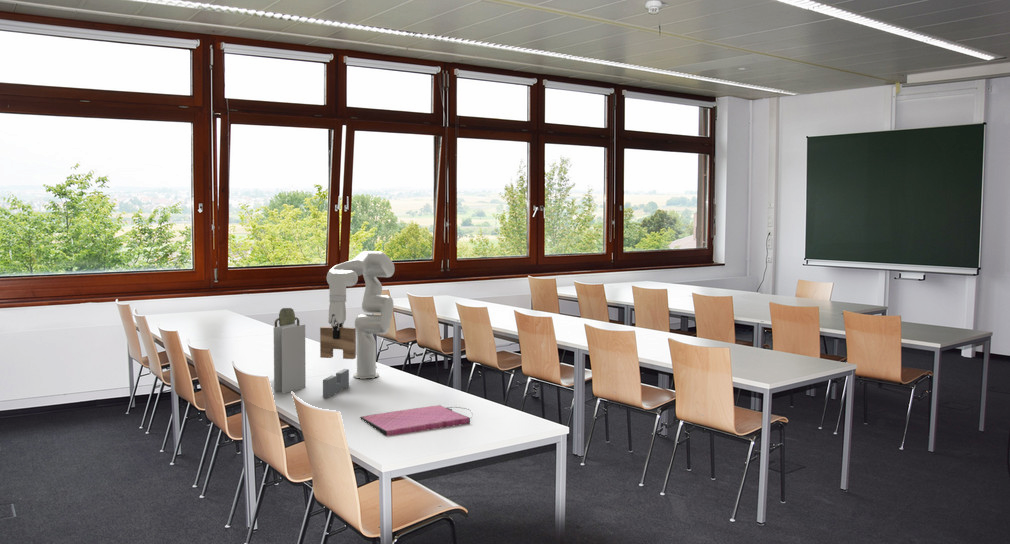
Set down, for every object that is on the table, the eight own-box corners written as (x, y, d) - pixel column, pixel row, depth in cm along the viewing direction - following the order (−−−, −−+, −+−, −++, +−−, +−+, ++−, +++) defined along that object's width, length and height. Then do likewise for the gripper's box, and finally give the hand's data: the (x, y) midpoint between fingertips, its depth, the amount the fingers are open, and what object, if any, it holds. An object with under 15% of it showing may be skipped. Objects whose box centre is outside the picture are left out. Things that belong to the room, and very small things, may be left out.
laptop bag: (385, 427, 280) (360, 411, 303) (386, 437, 281) (360, 421, 304) (479, 412, 301) (448, 399, 324) (479, 422, 301) (448, 408, 324)
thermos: (272, 378, 373) (271, 308, 370) (295, 375, 380) (295, 306, 377) (278, 381, 366) (277, 310, 363) (302, 378, 373) (301, 308, 370)
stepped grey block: (343, 385, 360) (343, 369, 359) (348, 385, 359) (348, 369, 359) (322, 397, 336) (322, 379, 336) (328, 397, 336) (328, 380, 335)
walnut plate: (323, 356, 349) (322, 326, 348) (355, 357, 347) (355, 327, 346) (320, 357, 346) (320, 327, 345) (353, 359, 344) (353, 328, 343)
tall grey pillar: (297, 386, 357) (296, 323, 355) (305, 387, 355) (305, 324, 352) (274, 391, 345) (273, 327, 343) (282, 393, 342) (282, 328, 340)
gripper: (336, 296, 353) (337, 335, 354) (322, 300, 337) (323, 341, 338) (352, 297, 352) (352, 335, 353) (338, 301, 336) (338, 341, 337)
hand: (337, 337), depth 346 cm, fingers closed on walnut plate, 3 cm apart
